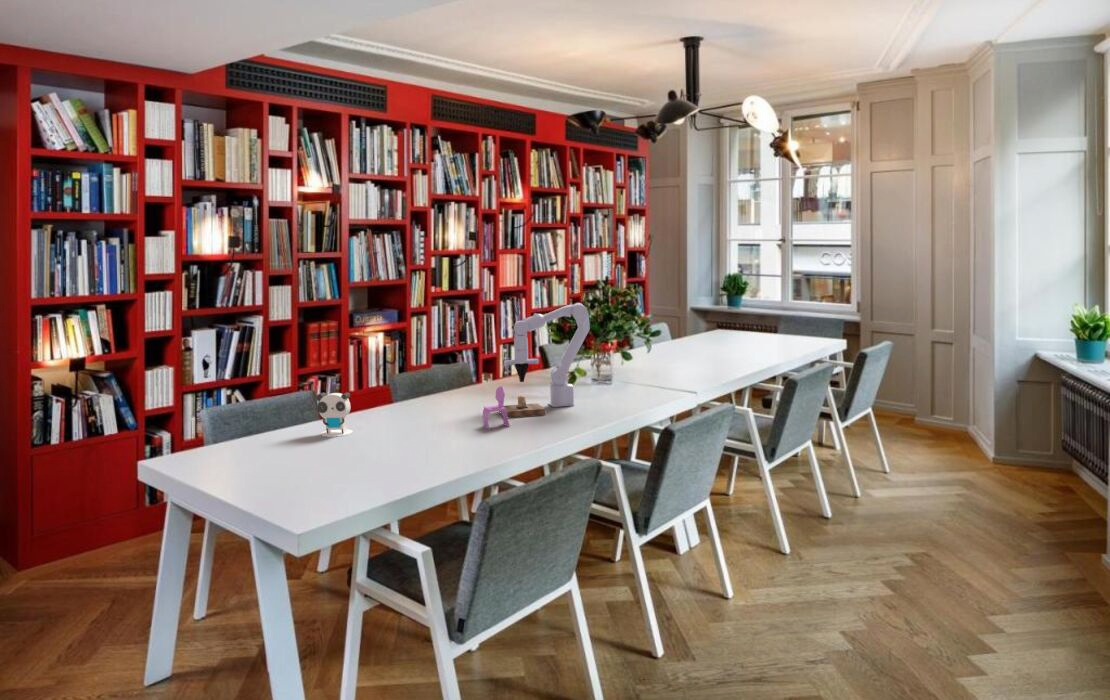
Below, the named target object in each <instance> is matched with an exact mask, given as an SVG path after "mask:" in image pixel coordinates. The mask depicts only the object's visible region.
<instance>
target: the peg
mask: <svg viewBox="0 0 1110 700" xmlns="http://www.w3.org/2000/svg"><path fill="white" fill-rule="evenodd" d="M526 404H527V396H525V395H518V396H517V405H518V408H519V409H523V408H526Z"/></svg>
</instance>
